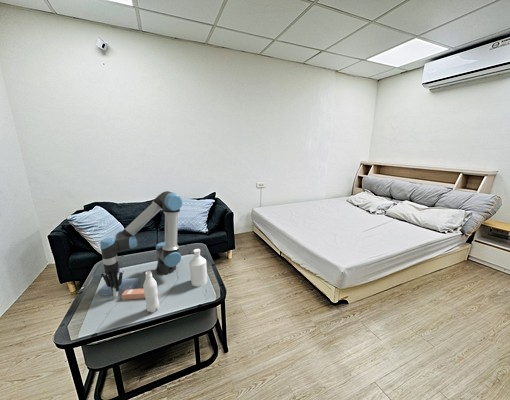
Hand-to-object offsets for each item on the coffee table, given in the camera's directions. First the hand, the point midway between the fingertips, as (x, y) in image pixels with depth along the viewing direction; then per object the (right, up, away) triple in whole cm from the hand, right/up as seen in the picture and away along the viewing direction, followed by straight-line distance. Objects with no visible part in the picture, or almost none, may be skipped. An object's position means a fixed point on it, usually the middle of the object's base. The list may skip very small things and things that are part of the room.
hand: (116, 295), depth 140 cm
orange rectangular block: (+15, -1, +2) cm, 15 cm away
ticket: (-4, 0, +10) cm, 11 cm away
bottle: (+50, +2, +17) cm, 53 cm away
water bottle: (+29, -4, -10) cm, 31 cm away
